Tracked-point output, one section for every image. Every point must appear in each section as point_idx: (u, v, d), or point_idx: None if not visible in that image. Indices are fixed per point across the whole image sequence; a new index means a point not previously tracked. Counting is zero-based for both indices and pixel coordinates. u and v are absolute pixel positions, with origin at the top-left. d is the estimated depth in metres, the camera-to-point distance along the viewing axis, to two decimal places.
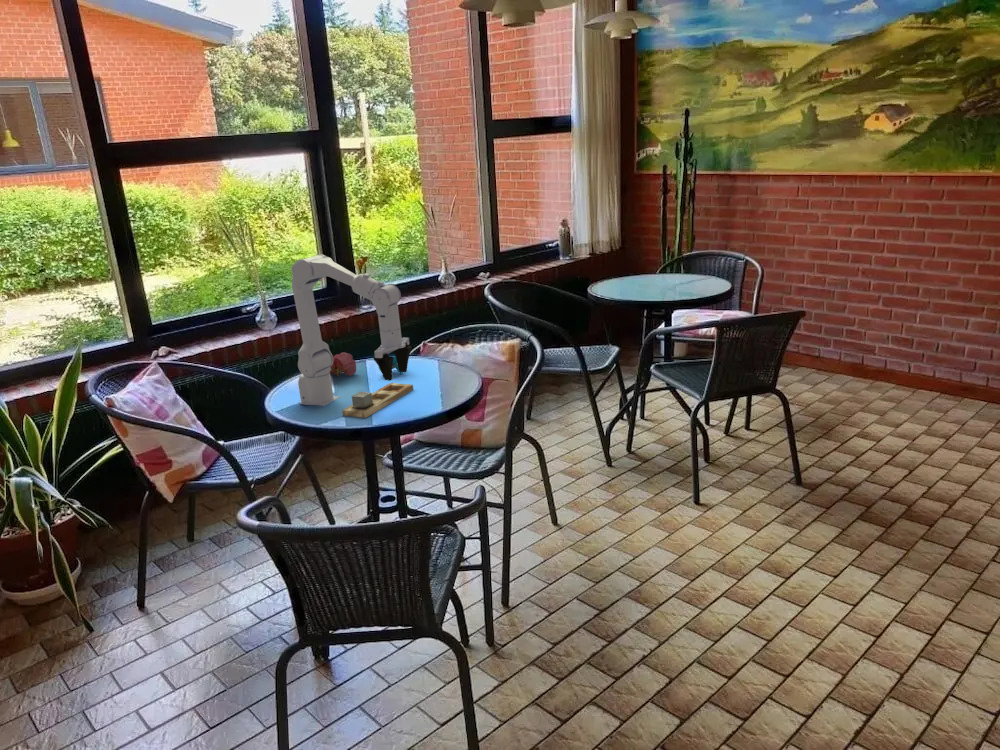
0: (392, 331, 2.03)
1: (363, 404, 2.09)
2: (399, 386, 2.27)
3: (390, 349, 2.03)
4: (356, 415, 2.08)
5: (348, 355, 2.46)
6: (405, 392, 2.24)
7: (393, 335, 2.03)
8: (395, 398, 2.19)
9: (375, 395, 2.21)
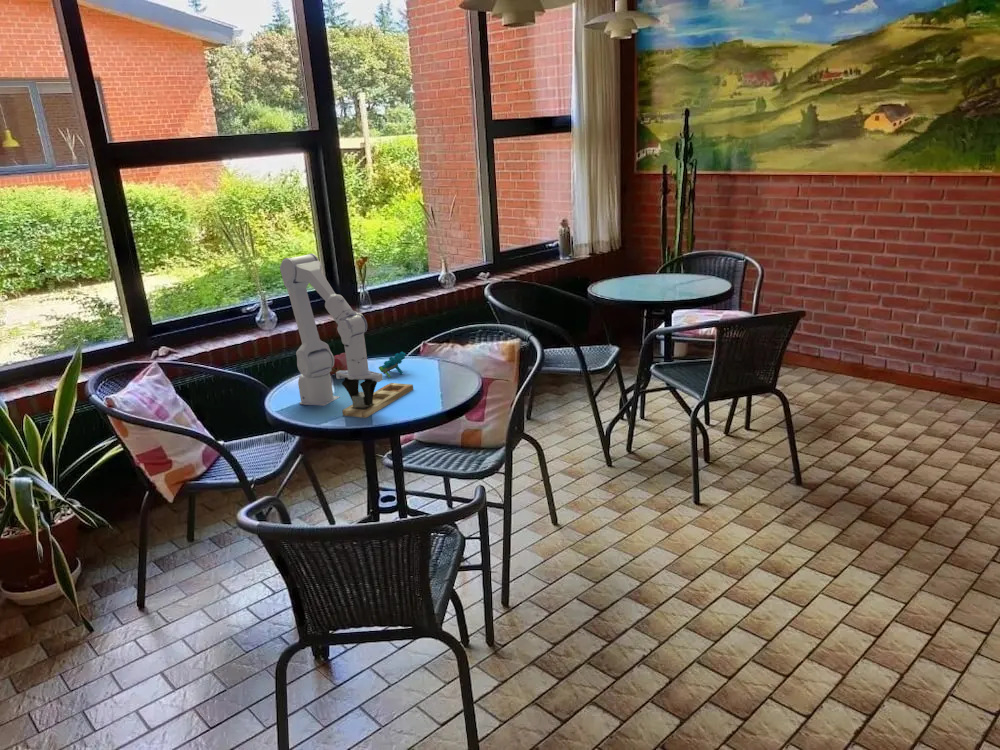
0: (346, 360, 2.06)
1: (363, 404, 2.09)
2: (399, 386, 2.27)
3: (344, 375, 2.09)
4: (356, 415, 2.08)
5: None
6: (405, 392, 2.24)
7: (347, 364, 2.07)
8: (395, 398, 2.19)
9: (375, 395, 2.21)
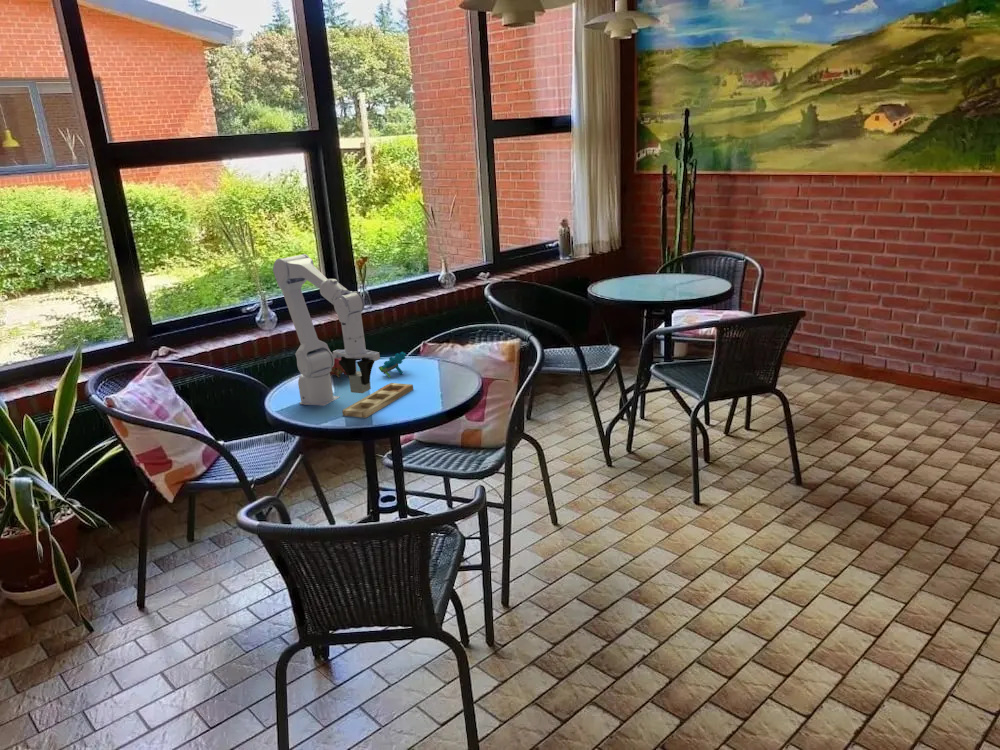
0: (343, 338, 2.04)
1: (360, 383, 2.07)
2: (399, 386, 2.27)
3: (340, 354, 2.07)
4: (356, 415, 2.08)
5: None
6: (405, 392, 2.24)
7: (344, 343, 2.05)
8: (395, 398, 2.19)
9: (375, 395, 2.21)
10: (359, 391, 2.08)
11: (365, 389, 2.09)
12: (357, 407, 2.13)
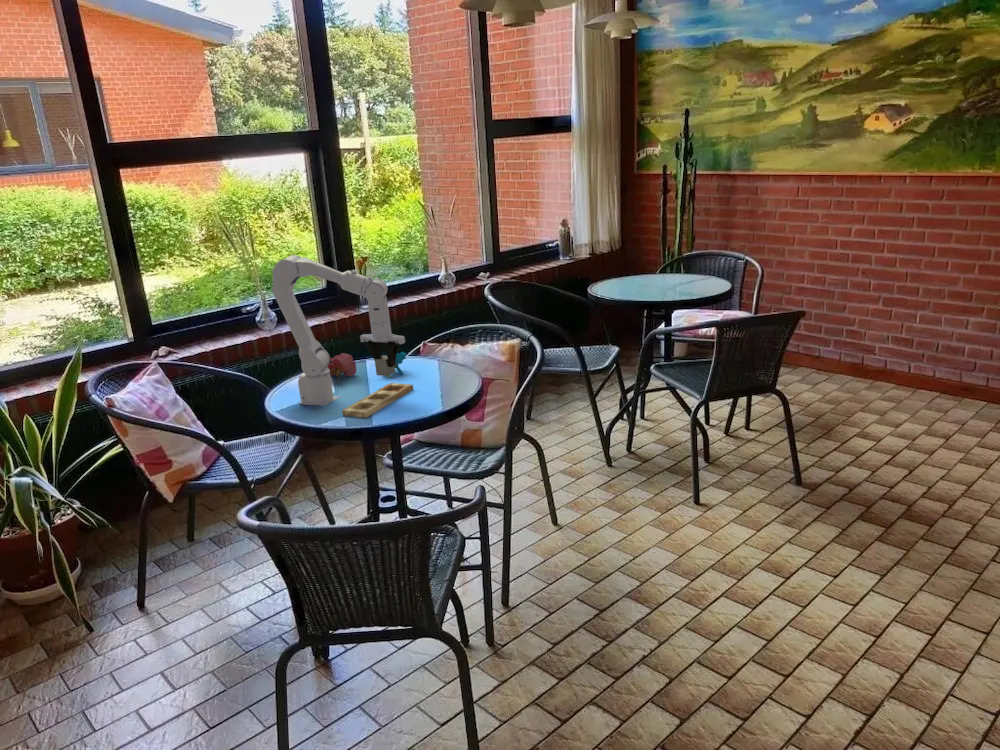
0: (370, 323, 2.15)
1: (385, 366, 2.17)
2: (399, 386, 2.27)
3: (368, 338, 2.18)
4: (356, 415, 2.08)
5: (348, 356, 2.45)
6: (405, 392, 2.24)
7: (371, 327, 2.16)
8: (395, 398, 2.19)
9: (375, 395, 2.21)
10: (384, 374, 2.18)
11: (390, 372, 2.19)
12: (357, 407, 2.13)
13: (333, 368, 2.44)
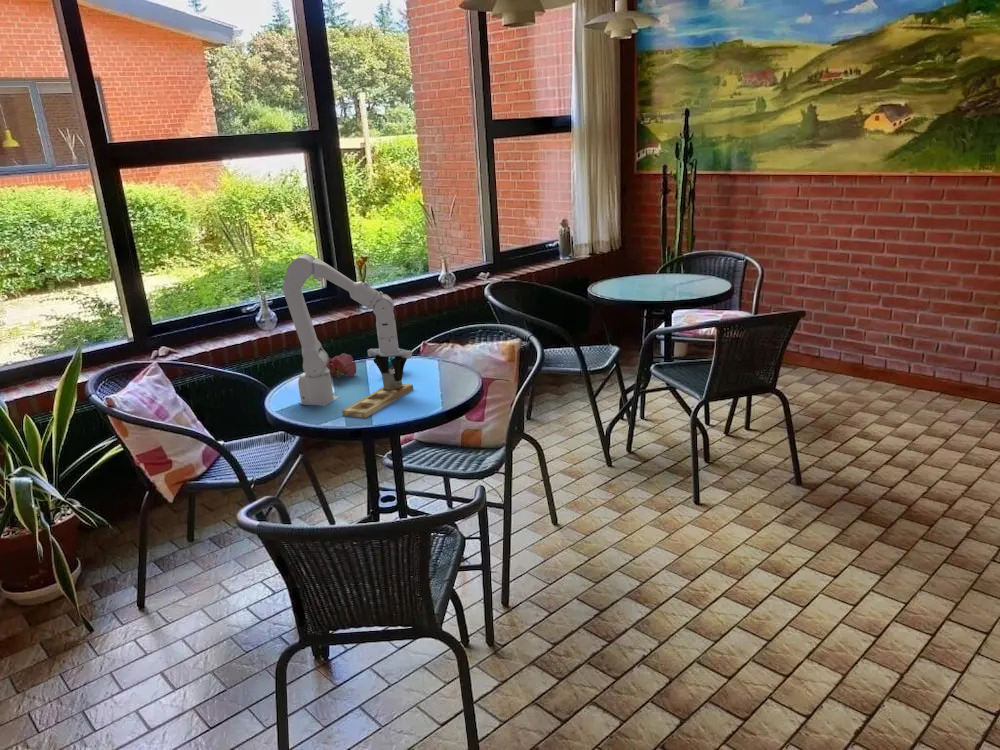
0: (378, 338, 2.19)
1: (393, 380, 2.21)
2: None
3: (375, 352, 2.22)
4: (356, 415, 2.08)
5: (348, 356, 2.44)
6: (405, 392, 2.24)
7: (378, 342, 2.20)
8: (395, 398, 2.19)
9: (375, 395, 2.21)
10: (392, 388, 2.22)
11: (397, 386, 2.23)
12: (357, 407, 2.13)
13: (333, 368, 2.44)
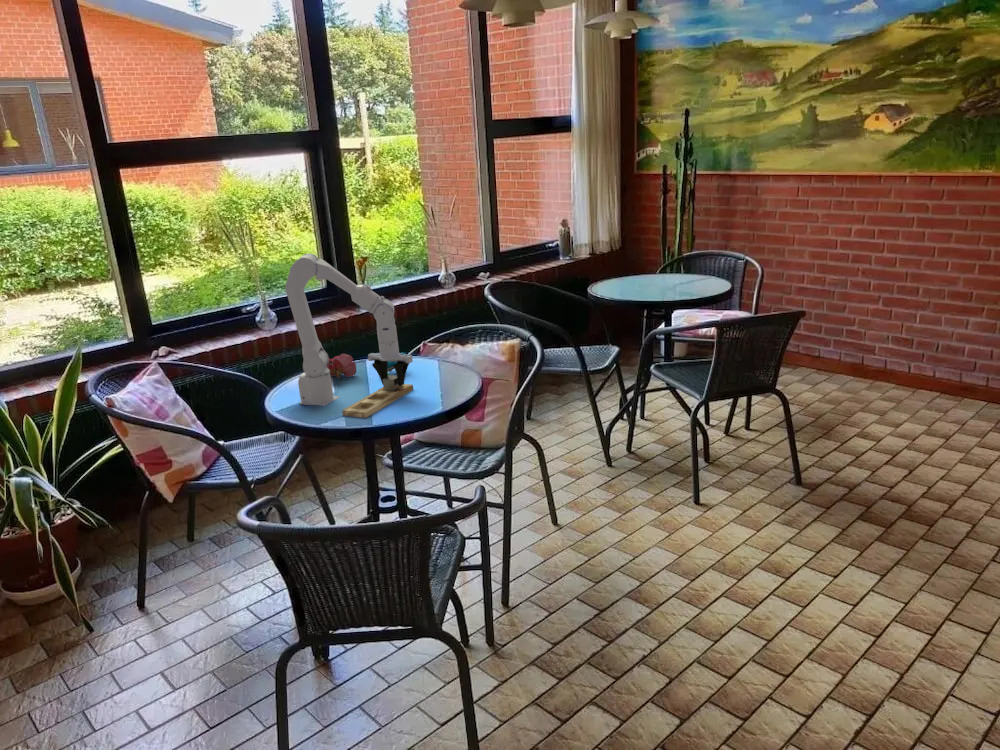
0: (378, 342, 2.20)
1: (393, 386, 2.22)
2: None
3: (376, 357, 2.22)
4: (356, 415, 2.08)
5: (348, 356, 2.44)
6: (405, 392, 2.24)
7: (379, 347, 2.20)
8: (395, 398, 2.19)
9: (375, 395, 2.21)
10: None
11: None
12: (357, 407, 2.13)
13: (333, 369, 2.43)
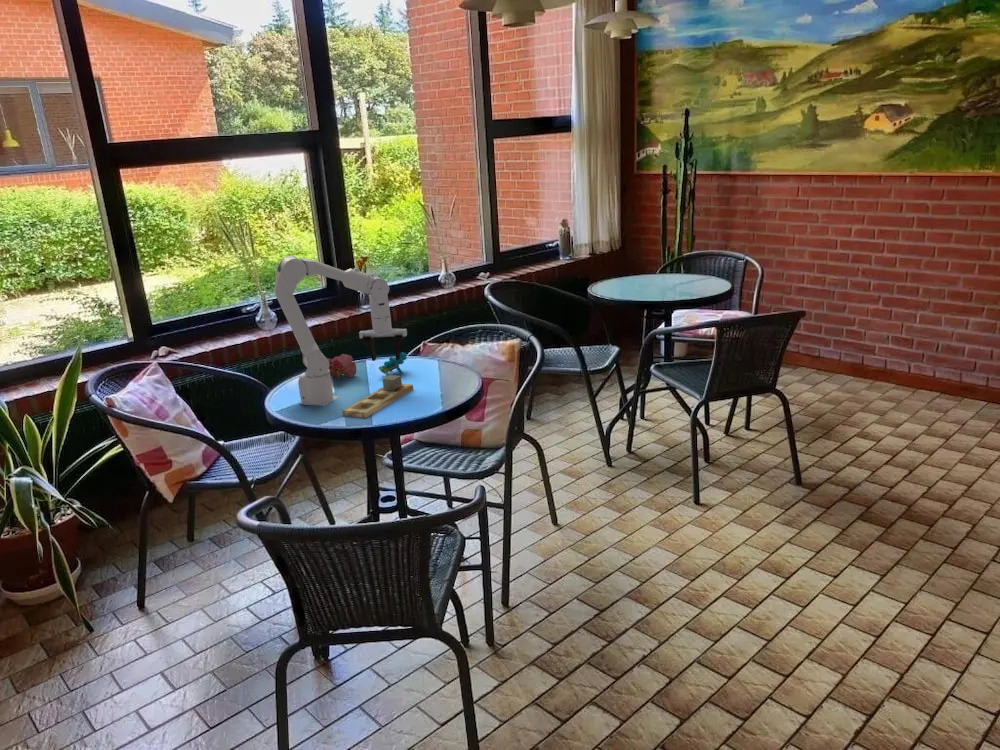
0: (372, 318, 2.24)
1: (393, 386, 2.22)
2: None
3: (369, 333, 2.25)
4: (356, 415, 2.08)
5: (348, 357, 2.44)
6: (405, 392, 2.24)
7: (373, 323, 2.24)
8: (395, 398, 2.19)
9: (375, 395, 2.21)
10: None
11: None
12: (357, 407, 2.13)
13: (333, 369, 2.43)
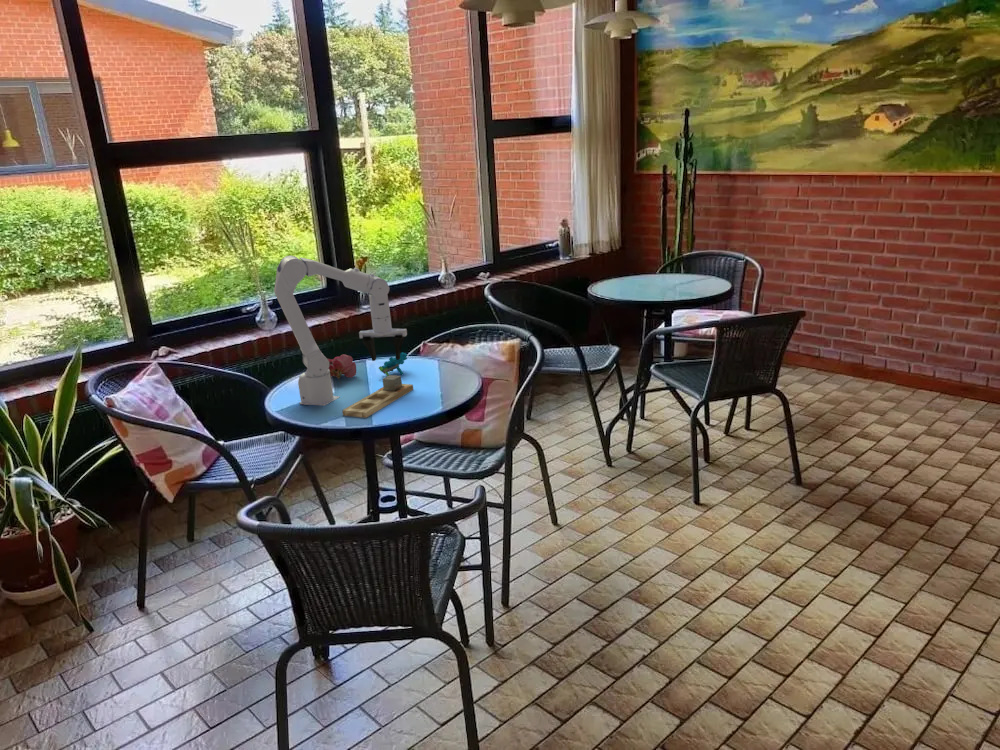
0: (372, 318, 2.24)
1: (393, 386, 2.22)
2: None
3: (369, 333, 2.25)
4: (356, 415, 2.08)
5: (348, 357, 2.43)
6: (405, 392, 2.24)
7: (373, 323, 2.24)
8: (395, 398, 2.19)
9: (375, 395, 2.21)
10: None
11: None
12: (357, 407, 2.13)
13: (333, 369, 2.43)
